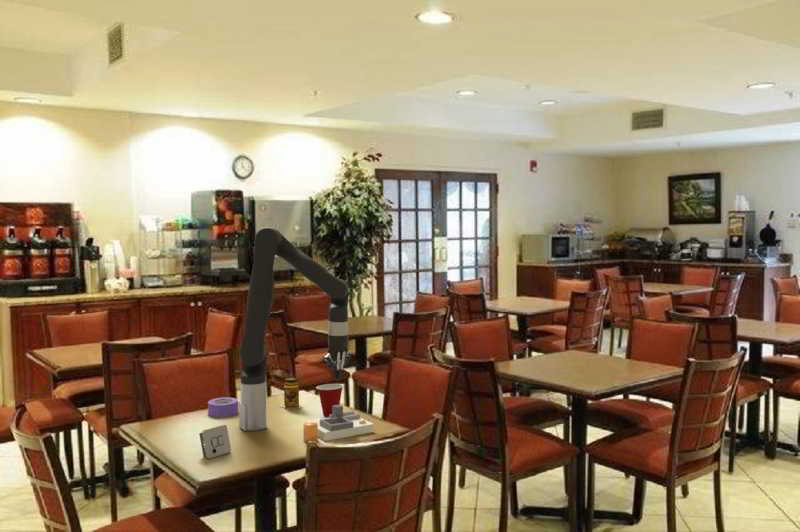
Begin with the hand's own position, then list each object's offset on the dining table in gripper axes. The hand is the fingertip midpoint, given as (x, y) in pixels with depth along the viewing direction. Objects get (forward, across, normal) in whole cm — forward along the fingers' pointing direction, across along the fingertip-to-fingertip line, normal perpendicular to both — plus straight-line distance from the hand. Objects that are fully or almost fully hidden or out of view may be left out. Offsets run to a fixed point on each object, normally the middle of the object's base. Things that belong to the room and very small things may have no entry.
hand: (337, 379), depth 254 cm
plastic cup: (+19, -9, -16) cm, 26 cm away
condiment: (+19, -5, -37) cm, 42 cm away
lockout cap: (+19, +16, +5) cm, 25 cm away
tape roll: (+19, +20, -48) cm, 56 cm away
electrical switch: (+19, +48, -5) cm, 52 cm away
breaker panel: (+18, +2, +3) cm, 19 cm away
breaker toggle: (+15, 0, -1) cm, 15 cm away
